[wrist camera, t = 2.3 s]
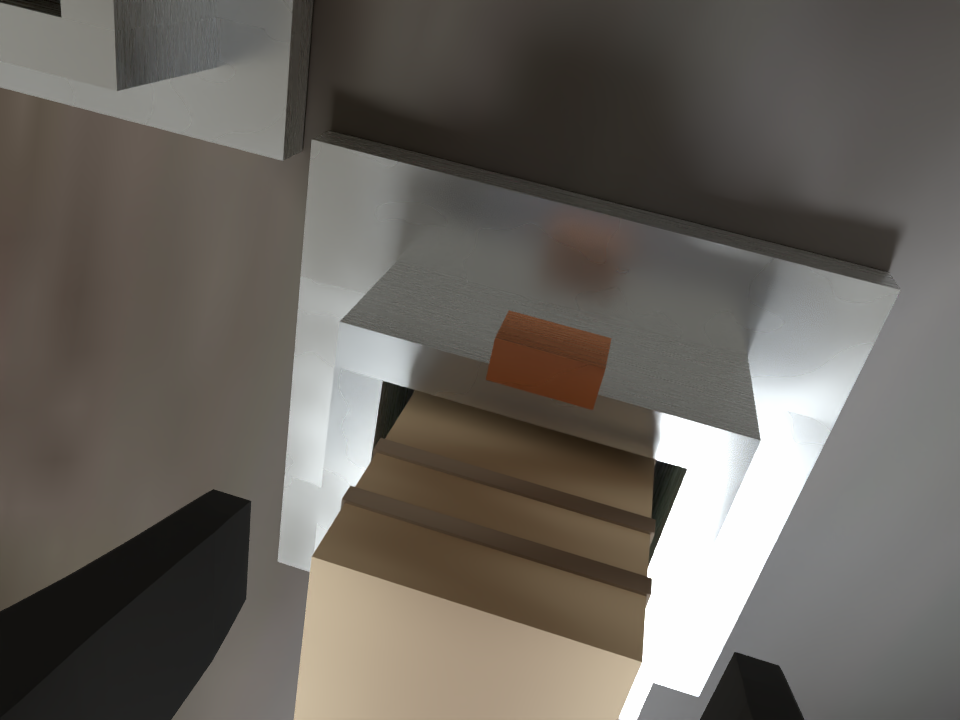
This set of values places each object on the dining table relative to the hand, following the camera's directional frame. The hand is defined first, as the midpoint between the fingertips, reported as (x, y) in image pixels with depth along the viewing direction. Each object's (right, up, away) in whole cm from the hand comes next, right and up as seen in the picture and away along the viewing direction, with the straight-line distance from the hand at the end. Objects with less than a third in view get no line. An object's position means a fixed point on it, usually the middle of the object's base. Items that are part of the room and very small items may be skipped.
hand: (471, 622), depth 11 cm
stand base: (+1, +2, +5) cm, 5 cm away
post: (+1, +2, +5) cm, 5 cm away
